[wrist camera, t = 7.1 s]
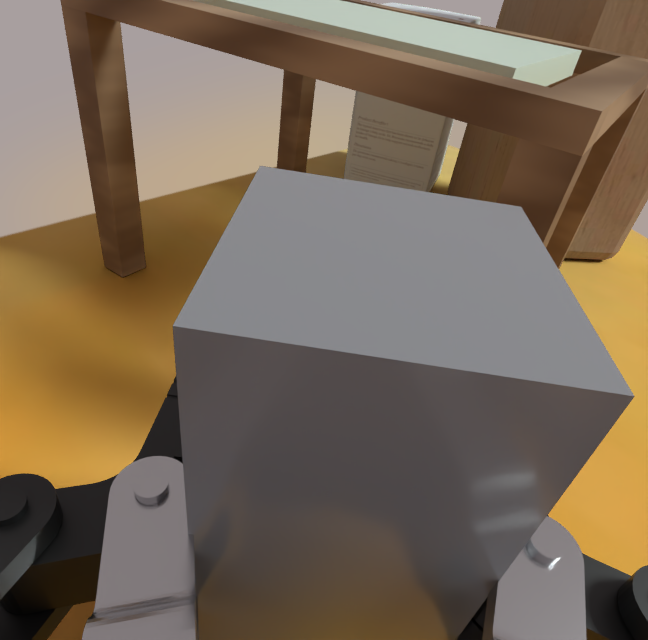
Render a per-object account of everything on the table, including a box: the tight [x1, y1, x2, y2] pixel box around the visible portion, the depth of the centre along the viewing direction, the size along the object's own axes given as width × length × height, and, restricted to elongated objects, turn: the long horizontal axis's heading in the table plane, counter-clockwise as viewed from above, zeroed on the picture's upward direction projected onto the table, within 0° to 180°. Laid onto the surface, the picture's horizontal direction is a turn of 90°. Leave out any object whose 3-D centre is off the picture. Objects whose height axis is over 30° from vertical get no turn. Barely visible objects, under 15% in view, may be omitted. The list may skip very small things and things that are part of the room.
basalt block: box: [173, 166, 634, 640], centre depth 10 cm, size 4×4×12 cm
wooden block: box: [448, 0, 648, 260], centre depth 32 cm, size 10×10×20 cm
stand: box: [61, 0, 648, 277], centre depth 24 cm, size 20×16×13 cm
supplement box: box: [344, 3, 481, 192], centre depth 39 cm, size 7×7×13 cm
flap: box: [192, 0, 582, 86], centre depth 21 cm, size 14×10×1 cm
